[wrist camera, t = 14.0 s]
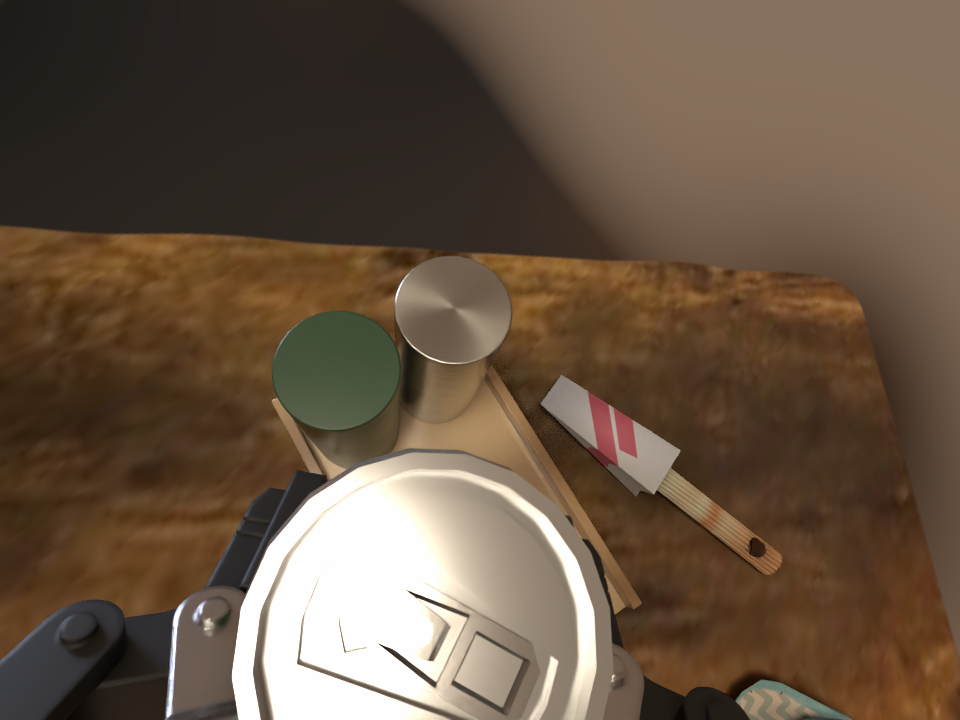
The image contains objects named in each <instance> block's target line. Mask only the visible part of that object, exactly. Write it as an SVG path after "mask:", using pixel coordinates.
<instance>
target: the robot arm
mask: <svg viewBox="0 0 960 720" xmlns="http://www.w3.org/2000/svg"><path fill="white" fill-rule="evenodd" d="M325 483H327V475H322V474H316V473H310V472H304V471H298V470H297V471H296V472H295V473H294V475H293V477H292V479H291V481H290V484H289V486H288V488H287V490H280V489H274V488H269V489H267V490H266V491H265V492H264V493H262V494H261V495H260V496H258V497H257V498H256V499H255V500H253V502H252V503H251V505H250V507H249V509H248V511H247V512H246V514H245V516H244V519H243V520H242V521H241V523H240V525H239V527H238V529H237V530H236V534H234V536H233V538H232V539H231V541H230V543H229V545H228V547H227V549H226V550H225V552H224V554H223V556H222V558H221V559H220V561H219V563H218V565H217V567H216V568H215V570H214V572H213V574H212V576H211V577H210V579H209V581H208V583H207V584H206V586H205V587H204V589H202V590H200V591H198V592H195V593H194V594H192V595H191V596H189V597H188V598H187V599H185V600H184V601H183V602H182V604H181V605H180V606H179V607H178V608H176V609H173V610H170V611H167V612H162V613H157V614H149V615H142V616H134V617H127V618H125V617H124V614H123V612H122V610H121V609H120V608H119V607H118V606H117V605H115V604H114V603H111V602H109V601H105V600H86V601H81V602H77V603H74V604H71V605H69V606H66V607H64V608H62V609H60V610H58V611H57V612H55V613H53V614H52V615H50V616H49V617H48V618H47V619H46V620H44V621H43V622H42V623H41V624H40V625H39V626H38V627H37V628H36V629H34V630H33V631H32V632H31V633H30V634H29V635H28V636H27V637H26V638H25V639H23V640H22V641H21V642H20V643H19V644H18V645H17V646H16V647H15V648H14V649H12V650H11V651H10V652H9V653H8V654H7V655H6V656H5V657H4V658H3V659H1V660H0V720H239V715H238V709H237V703H236V697H235V691H234V685H233V679H232V673H233V666H234V659H235V651H236V644H237V637H238V630H239V622H240V615H241V608H242V606H243V599H244V596H245V594H246V592H247V589H248V587H249V585H250V583H251V581H252V578H253V576H254V574H255V572H256V569H257V567H258V565H259V563H260V561H261V558H262V556H263V554H264V552H265V549H266V547H267V545H268V543H269V541H270V539H271V538H272V537H273V536H274V534H275V533H276V532H277V531H278V530H279V528H280V527H281V526H282V525H283V524H284V523H285V521H286V520H287V519H288V518H289V517H290V516H291V514H292V513H293V512H294V511H295V510H296V509H297V507H298V506H299V505H300V504H301V503H302V502H303V500H304V499H305V498H306V497H307V496H308V495H309V494H310V493H311V492H313V491H314V490H316V489H317V488H319V487H320V486H322V485H323V484H325ZM565 516H566V518H567V519H568V520H569V522H570V523H571V525H572V526H573V528H574V525H573V521H572V518H571V516H568V515H565ZM582 540H583V542H584V543H585V545H586V546H587V547H588V549H589V550H590V552H591V554H592V557H593V560H594V563H595V566H596V569H597V572H598V575H599V578H600V581H601V584H602V586H603V589H604V592H605V595H606V598H607V601H608V604H609V607H610V618H611V636H612V654H613V675H612V680H611V684H610V689H609V693H608V698H607V703H606V707H605V712H604V716H603V720H750V718H749V717H748V715H747V714H746V712H745V711H744V710H743V709H742V707H741V706H740V705H739V704H738V703H737V702H736V701H734V700H733V699H732V698H731V697H729V696H728V695H726V694H725V693H723V692H721V691H719V690H716V689H714V688H710V687H697V688H694V689H692V690H691V691H690V692H689V693H688V694H687V696H686V697H684V696H682V695H680V694H678V693H675V692H673V691H671V690H669V689H667V688H664V687H662V686H660V685H658V684H656V683H654V682H652V681H651V680H649V679H648V678H646V677H645V676H644V675H643V673H642V670H641V668H640V666H639V665H638V663H637V662H636V660H635V659H634V658H633V657H632V656H631V655H630V654H629V653H628V652H627V651H626V650H624V648H623V645H622V641H621V637H620V633H619V629H618V625H617V621H616V617H615V613H614V609H613V605H612V601H611V597H610V593H609V592H608V585H607V581H606V578H605V573H604V569H603V565H602V561H601V557H600V555H599V554H598V552H597V551H596V549H595V548H594V547H593V545H592V544H591V542H590V541H589V540H587V539H582Z"/></svg>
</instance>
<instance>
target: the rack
mask: <svg viewBox="0 0 960 720" xmlns="http://www.w3.org/2000/svg"><path fill="white" fill-rule="evenodd" d="M394 310H395V343H394V341H393V339H392V338H391V336H390V335H389V334H388V333H387V332H386V330H385V329H384V328H383V327H381V326H380V325H379V324H378V323H376V322H375V321H373V320H372V319H370V318H368V317H366V316H363V315H360V314H357V313H353V312H348V311H330V312H324V313H320V314H316V315H314V316H311V317H309V318H307V319H305V320H303V321H302V322H300V323H299V324H297V325H296V326H295V327H294V328H293V329H291V330H290V331H289V332H288V333H287V335H286V336H285V337H284V338H283V340H282V341H281V343H280V345H279V346H278V349H277V351H276V353H275V356H274V360H273V365H272V381H273V387H274V390H275V393H276V395H277V398H276V399H274V400H272V403H273V405H274V407H275V409H276V411H277V413H278V415H279V417H280V418H281V420H282V422H283V424H284V426H285V428H286V430H287V432H288V433H289V435H290V437H291V439H292V441H293V443H294V445H295V447H296V448H297V450H298V452H299V454H300V456H301V458H302V460H303V462H304V463H305V465H306V467H307V469H308V471H309V472H310V473H316V474H322V475H327V482H328V481H330V480H331V479H333V478H334V477H336V476H337V475H339V474H340V473H342V472H344V471H345V470H347V469H348V468H350V467H351V466H353V465H354V464H356V463H358V462H362V461H365V460H369V459H372V458H376V457H379V456H383V455H386V454H390V453H394V452H397V451H401V450H404V449H408V448H418V449H446V450H462V451H465V452H468V453H470V454H473V455H476V456H479V457H481V458H484V459H487V460H490V461H492V462H495V463H498V464H501V465H503V466H506V467H509V468H510V469H512V470H513V471H514V472H516V473H517V474H518V475H519V476H521V477H522V478H523V479H525V480H526V481H527V482H528V483H530V484H531V485H532V486H534V487H535V488H536V489H537V490H539V491H540V492H541V493H543V494H544V495H545V496H546V497H548V498H549V499H550V500H551V501H553V502H554V503H555V504H557V505H558V506H559V508H560V509H561V510H562V512H563V513H564V515H568V516H571V518H572V521H573V525H574V529H575V530H576V532H577V533H578V535H579V536H580V537H581V539H587V540H589V541H590V542H591V544H592V545H593V547H594V548H595V549H596V551H597V552H598V554H599V555H600V557H601V561H602V565H603V569H604V573H605V578H606V581H607V585H608V592H609V593H610V597H611V601H612V605H613V609H614V613H615V614H616V613H618V612H619V611H620V610H622V609H623V608H624V607H629V608H632V609H635V608H636V607H638V606H639V605H640V604H641V603H642V602H641V600H640V599H639V597H638V596H637V594H636V593H635V591H634V589H633V588H632V586H631V585H630V583H629V581H628V580H627V578H626V577H625V575H624V573H623V572H622V570H621V569H620V567H619V566H618V564H617V562H616V561H615V559H614V558H613V556H612V554H611V553H610V551H609V550H608V548H607V547H606V545H605V543H604V542H603V540H602V539H601V537H600V535H599V534H598V532H597V531H596V529H595V528H594V526H593V524H592V523H591V521H590V520H589V518H588V516H587V515H586V513H585V512H584V510H583V508H582V507H581V505H580V504H579V502H578V501H577V499H576V497H575V496H574V494H573V493H572V491H571V489H570V488H569V486H568V485H567V483H566V482H565V480H564V478H563V477H562V475H561V474H560V472H559V470H558V469H557V467H556V466H555V464H554V462H553V461H552V459H551V458H550V456H549V455H548V453H547V451H546V450H545V448H544V447H543V445H542V443H541V442H540V440H539V439H538V437H537V436H536V434H535V432H534V431H533V429H532V428H531V426H530V424H529V423H528V421H527V420H526V418H525V416H524V415H523V413H522V412H521V410H520V409H519V407H518V405H517V404H516V402H515V401H514V399H513V397H512V396H511V394H510V393H509V391H508V390H507V388H506V386H505V385H504V383H503V382H502V380H501V378H500V377H499V375H498V374H497V372H496V371H495V369H494V367H493V366H492V362H493V360H494V359H495V357H496V355H497V353H498V351H499V349H500V348H501V346H502V344H503V342H504V340H505V338H506V336H507V334H508V332H509V329H510V326H511V321H512V305H511V300H510V297H509V294H508V292H507V289H506V288H505V286H504V284H503V283H502V281H501V280H500V279H499V277H498V276H497V275H496V274H495V273H494V272H493V271H491V270H490V269H489V268H487V267H486V266H484V265H483V264H481V263H479V262H477V261H475V260H472V259H469V258H465V257H459V256H443V257H437V258H433V259H430V260H428V261H425V262H423V263H422V264H420V265H418V266H417V267H415V268H414V269H413V270H412V271H411V272H410V273H409V274H408V275H407V276H406V277H405V278H404V280H403V281H402V283H401V285H400V286H399V289H398V291H397V294H396V299H395V307H394Z"/></svg>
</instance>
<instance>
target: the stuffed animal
mask: <svg viewBox="0 0 960 720" xmlns="http://www.w3.org/2000/svg"><path fill="white" fill-rule="evenodd" d="M735 701H736V702H737V703H738V704H739V705H740V706H741V707H742V709H743V710H744V711H745V712H746V714H747V715H748V717H749V718H750V720H853V719H852V718H850V717H849V716H847V715H846V714H844V713H842V712H840V711H838V710H835V709H833V708H831V707H828V706H825V705H823V704H821V703H819V702H817V701H815V700H813V699H811V698H809V697H807V696H805V695H803V694H801V693H800V692H798V691H796V690H794V689H792V688H790V687H788V686H786V685H784V684H782V683H779V682H774V681H768V680H763V679H762V680H760V681H758V682H757V683H755V684H754V685H752V686H750V687H749V688H747V689H746V690H744V691H742V692H741V693H740V694H739V695H738V696H737V698H736V699H735Z"/></svg>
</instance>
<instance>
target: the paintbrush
mask: <svg viewBox="0 0 960 720" xmlns="http://www.w3.org/2000/svg"><path fill="white" fill-rule="evenodd" d="M541 405H542V406H543V407H544V408H545V409H546V410H547V411H548V412H549V413H550V414H551V415H552V416H553V417H554V418H555V419H556V420H557V421H558V422H559V423H561V424H562V425H563V426H564V427H565V428H566V429H567V430H568V431H569V432H570V433H571V434H572V435H573V436H574V437H575V438H576V439H577V440H578V441H579V442H580V443H581V444H582V445H583V446H584V447H585V448H586V449H587V450H588V451H589V452H590V453H591V454H592V455H593V456H594V457H595V458H597V459H598V460H599V461H600V462H601V463H602V464H603V465H604V466H605V467H606V468H607V469H608V470H609V471H610V472H611V473H612V474H613V475H614V476H615V477H616V478H617V479H618V480H619V481H620V482H621V483H622V484H623V485H624V486H625V487H626V488H627V489H628V490H629V491H630V492H631V493H633V494H634V495H635V496H636V497H637V495H638V494H639V492H640V491H644V492H647V493H651V494H655V492H656V490H658V491H659V492H660V493H661V494H663V495H664V496H665V497H667V498H668V499H669V500H670V501H672V502H673V503H674V504H675V505H677V506H678V507H679V508H680V509H682V510H683V511H684V512H685V513H687V514H688V515H689V516H691V517H692V518H693V519H694V520H696V521H697V522H698V523H699V524H701V525H702V526H703V527H705V528H706V529H707V530H708V531H710V532H711V533H712V534H714V535H715V536H716V537H717V538H719V539H720V540H721V541H722V542H724V543H725V544H726V545H728V546H729V547H730V548H731V549H733V550H734V551H735V552H736V553H738V554H739V555H740V556H742V557H743V558H744V559H745V560H747V561H748V562H749V563H750V564H752V565H753V566H754V567H755V568H757V569H758V570H759V571H760V572H762V573H763V574H765V575H768V574H769V575H771V573H774V572H775V570H776V571H777V570H778V567H780V563H782V561H781V559H782V557H781V555H780V553H779V552H777V551H776V550H775V549H773V548H772V547H771V546H769V545H768V544H767V543H765V542H764V541H763V540H762V539H760V538H759V537H758V536H756V535H755V534H754V533H753V532H751V531H750V530H749V529H747V528H746V527H745V526H744V525H742V524H741V523H740V522H739V521H737V520H736V519H735V518H734V517H732V516H731V515H730V514H728V513H727V512H726V511H725V510H723V509H722V508H721V507H720V506H718V505H717V504H716V503H714V502H713V501H712V500H711V499H709V498H708V497H707V496H706V495H704V494H703V493H702V492H700V491H699V490H698V489H697V488H695V487H694V486H693V485H692V484H690V483H689V482H688V481H686V480H685V479H684V478H683V477H681V476H680V475H679V474H677V473H676V472H675V471H673V470H672V469H671V468H670V467H671V466H672V464H673V462H674V461H675V459H676V457H677V456H678V454H679V452H680V451H681V450H679V449H677V448H676V447H674V446H673V445H671V444H670V443H668V442H666V441H665V440H663V439H662V438H660V437H659V436H657V435H655V434H654V433H652V432H651V431H649V430H648V429H646V428H644V427H643V426H641V425H640V424H638V423H636V422H635V421H633V420H632V419H630V418H629V417H627V416H625V415H624V414H622V413H621V412H619V411H618V410H616V409H614V408H613V407H611V406H610V405H608V404H607V403H605V402H603V401H602V400H600V399H599V398H597V397H596V396H594V395H592V394H591V393H589V392H588V391H586V390H584V389H583V388H581V387H580V386H578V385H577V384H575V383H573V382H572V381H570V380H569V379H567V378H566V377H564V376H562V375H561V376H560V378H559V379H558V380H557V382H556V383H555V385H554V386H553V387H552V389H551V390H550V391H549V393H548V394H547V396H546V397H545V398H544V400H543V401H542V402H541ZM750 540H751V542H752V550H751V553H750V554H749V553H748V551H747V550H748V545H749V541H750Z"/></svg>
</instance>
